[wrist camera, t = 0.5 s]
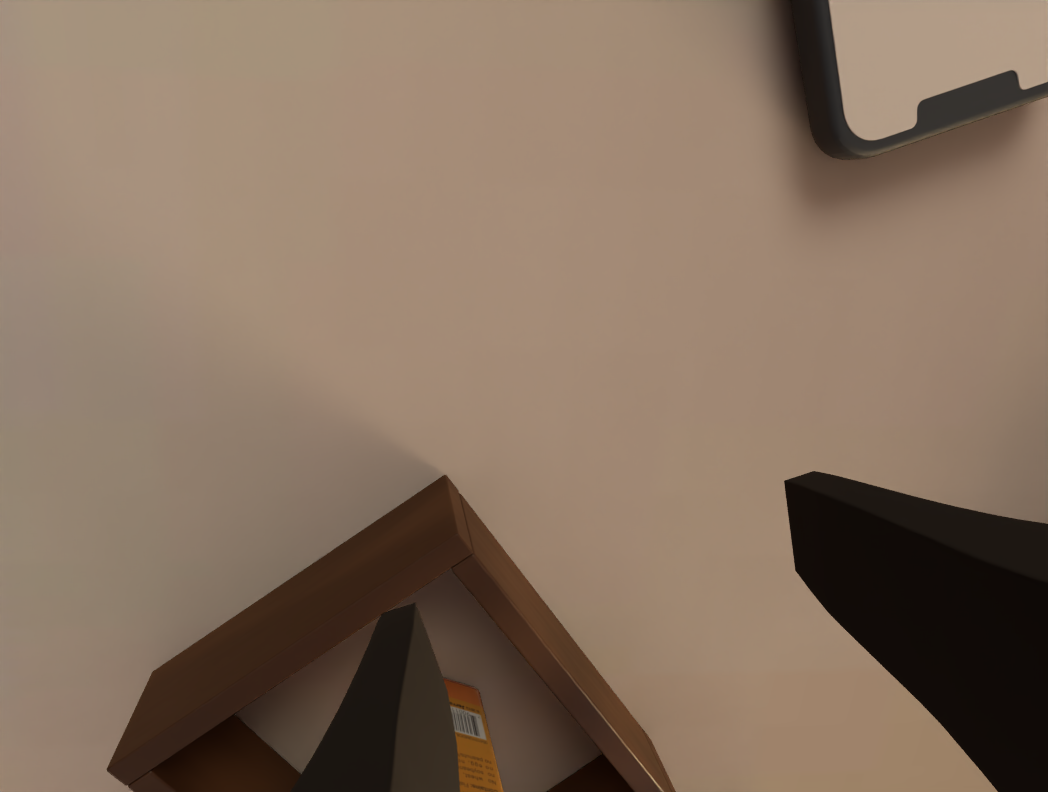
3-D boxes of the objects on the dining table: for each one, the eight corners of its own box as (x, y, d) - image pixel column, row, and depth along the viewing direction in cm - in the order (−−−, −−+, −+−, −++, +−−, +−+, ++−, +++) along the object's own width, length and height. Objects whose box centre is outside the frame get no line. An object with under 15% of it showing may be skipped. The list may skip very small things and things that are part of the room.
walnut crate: (651, 739, 27) (693, 828, 24) (412, 899, 27) (416, 1012, 24) (445, 473, 22) (457, 533, 18) (152, 671, 22) (104, 770, 18)
